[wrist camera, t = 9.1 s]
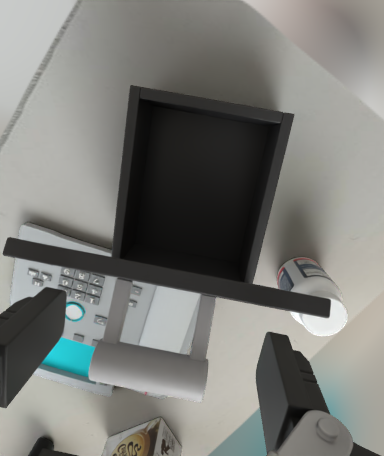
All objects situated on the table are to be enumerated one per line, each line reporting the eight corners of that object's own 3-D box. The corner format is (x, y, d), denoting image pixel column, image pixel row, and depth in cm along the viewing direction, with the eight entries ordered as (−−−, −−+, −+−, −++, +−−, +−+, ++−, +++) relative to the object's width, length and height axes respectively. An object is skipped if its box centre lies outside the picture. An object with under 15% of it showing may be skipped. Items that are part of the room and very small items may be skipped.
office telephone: (214, 289, 36) (165, 424, 41) (214, 279, 38) (168, 407, 44) (13, 227, 35) (-10, 371, 41) (26, 221, 38) (3, 357, 43)
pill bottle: (293, 305, 38) (315, 353, 30) (267, 273, 37) (282, 312, 29) (332, 281, 37) (366, 323, 28) (306, 247, 36) (334, 280, 28)
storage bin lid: (6, 236, 13) (-35, 371, 12) (332, 299, 13) (317, 443, 12) (109, 267, 31) (95, 324, 30) (250, 294, 30) (241, 353, 29)
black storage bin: (147, 96, 33) (130, 84, 27) (279, 119, 33) (294, 114, 26) (128, 246, 38) (109, 269, 31) (243, 268, 37) (249, 296, 31)
